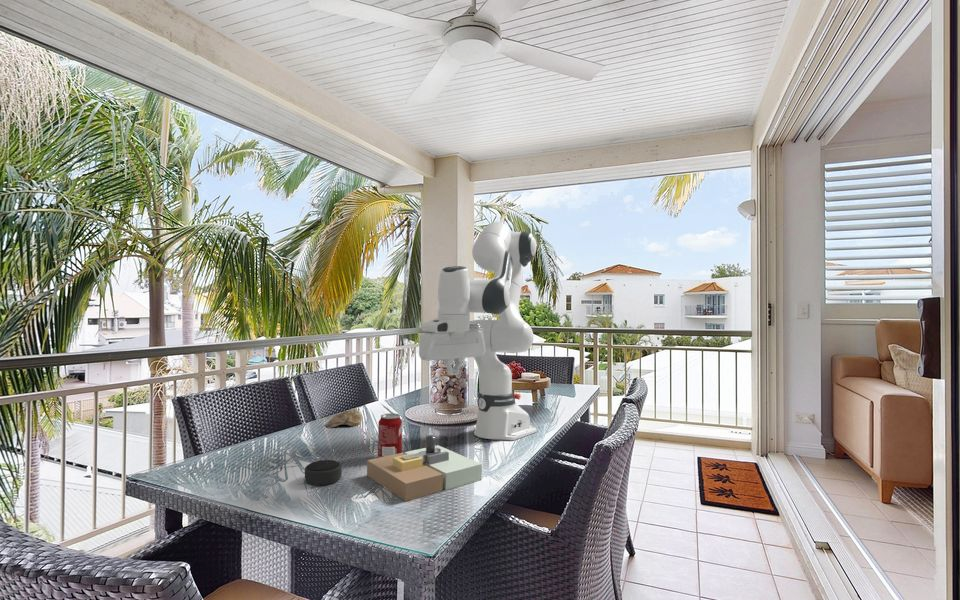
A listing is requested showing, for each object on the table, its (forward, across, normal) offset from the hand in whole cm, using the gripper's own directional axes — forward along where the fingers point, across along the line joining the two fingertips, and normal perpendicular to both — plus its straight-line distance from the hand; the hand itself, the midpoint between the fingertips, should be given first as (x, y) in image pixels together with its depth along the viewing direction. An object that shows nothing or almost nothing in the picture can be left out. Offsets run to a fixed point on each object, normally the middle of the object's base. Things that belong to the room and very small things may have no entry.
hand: (453, 374), depth 134 cm
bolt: (+21, +12, +3) cm, 24 cm away
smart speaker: (+26, +32, -11) cm, 42 cm away
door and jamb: (+25, +12, +3) cm, 28 cm away
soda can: (+25, +10, -17) cm, 32 cm away
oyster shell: (+26, +6, -59) cm, 65 cm away
